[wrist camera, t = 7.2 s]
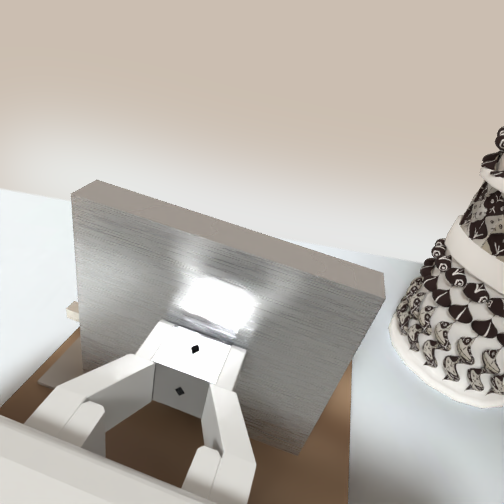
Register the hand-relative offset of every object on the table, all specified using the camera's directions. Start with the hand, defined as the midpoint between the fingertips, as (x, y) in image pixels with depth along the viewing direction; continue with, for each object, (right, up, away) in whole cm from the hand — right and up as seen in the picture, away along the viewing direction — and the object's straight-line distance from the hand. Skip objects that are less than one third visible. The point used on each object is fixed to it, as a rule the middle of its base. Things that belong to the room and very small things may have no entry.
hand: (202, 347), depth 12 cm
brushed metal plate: (-2, -2, +5) cm, 6 cm away
